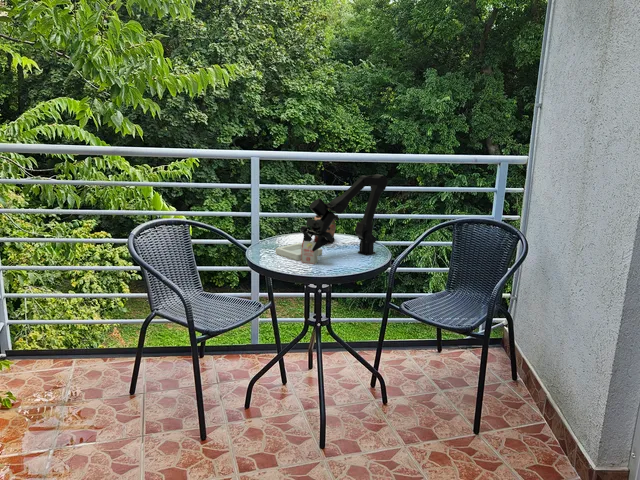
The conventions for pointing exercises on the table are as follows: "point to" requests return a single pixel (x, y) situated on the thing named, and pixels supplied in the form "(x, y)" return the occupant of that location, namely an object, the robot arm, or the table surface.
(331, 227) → the decorative planter
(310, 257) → the tea bag
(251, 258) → the table surface
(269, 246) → the table surface
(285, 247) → the housing tray
